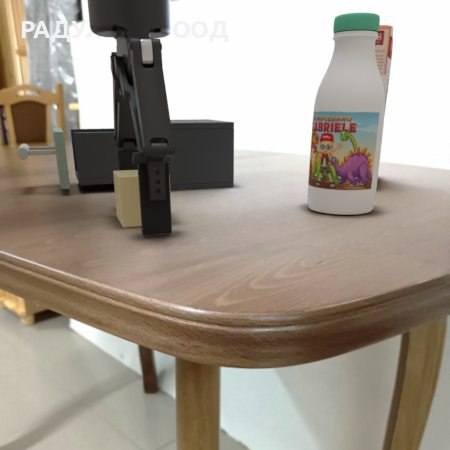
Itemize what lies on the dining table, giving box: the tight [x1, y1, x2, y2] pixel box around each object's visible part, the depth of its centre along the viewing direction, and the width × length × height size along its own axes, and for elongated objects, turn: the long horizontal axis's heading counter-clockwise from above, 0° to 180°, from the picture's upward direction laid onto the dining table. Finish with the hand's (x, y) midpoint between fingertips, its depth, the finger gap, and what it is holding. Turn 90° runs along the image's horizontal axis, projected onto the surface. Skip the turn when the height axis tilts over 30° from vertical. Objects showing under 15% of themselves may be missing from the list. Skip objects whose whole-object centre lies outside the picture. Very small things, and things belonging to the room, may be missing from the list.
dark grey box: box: [135, 118, 235, 192], centre depth 74 cm, size 15×13×9 cm
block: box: [113, 170, 173, 228], centre depth 51 cm, size 5×5×5 cm
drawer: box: [16, 127, 122, 190], centre depth 70 cm, size 18×11×7 cm, turn 109°
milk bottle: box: [307, 12, 386, 216], centre depth 54 cm, size 8×8×20 cm
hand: (144, 219), depth 52 cm, fingers open, 13 cm apart
